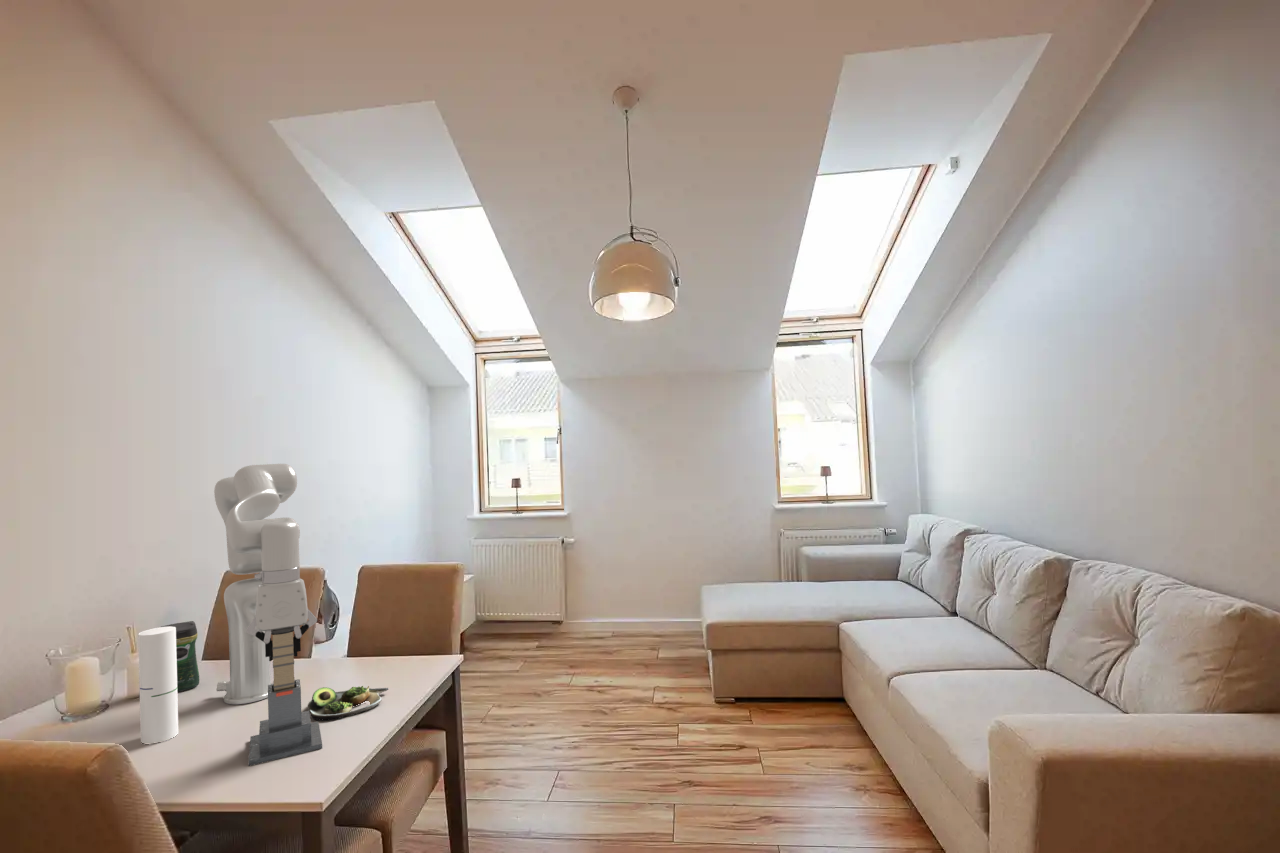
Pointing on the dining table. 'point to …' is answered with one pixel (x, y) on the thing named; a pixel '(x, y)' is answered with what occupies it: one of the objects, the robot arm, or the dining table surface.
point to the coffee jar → (186, 655)
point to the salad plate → (342, 702)
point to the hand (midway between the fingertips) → (283, 656)
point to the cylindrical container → (158, 684)
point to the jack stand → (284, 728)
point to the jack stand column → (283, 658)
